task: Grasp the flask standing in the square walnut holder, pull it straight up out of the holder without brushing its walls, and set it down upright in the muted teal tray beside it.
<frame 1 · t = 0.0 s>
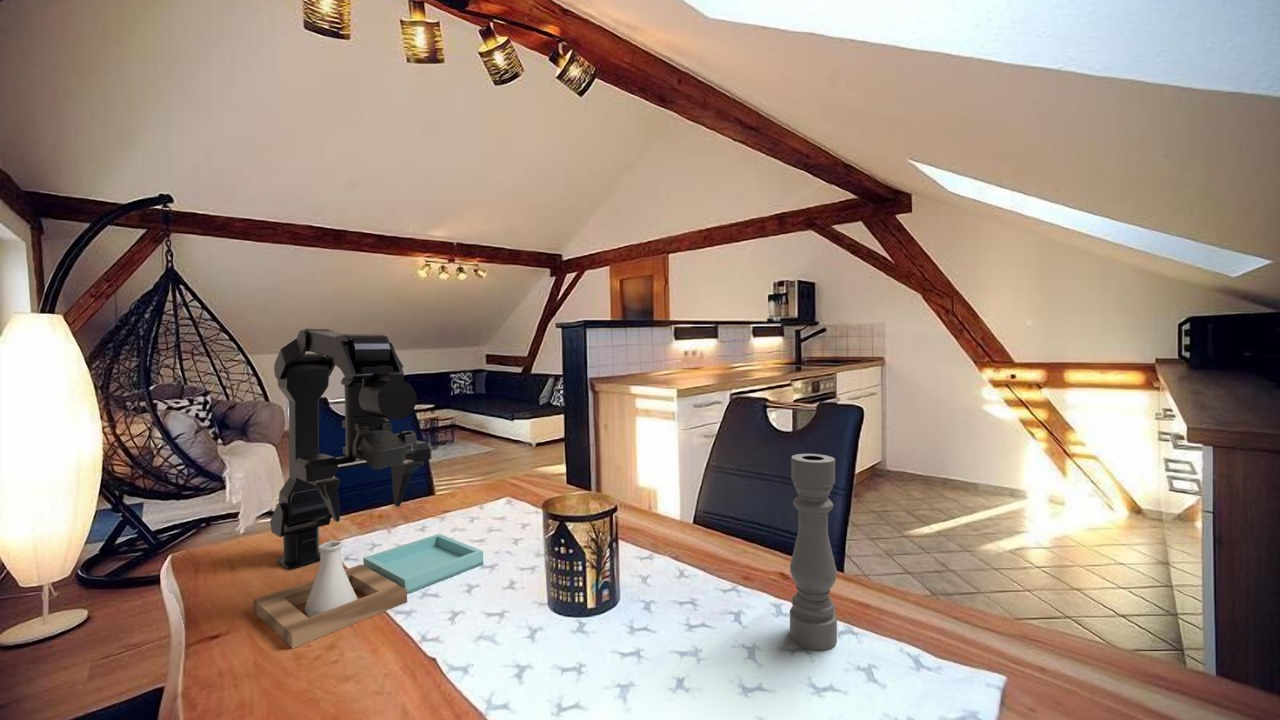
hand: (368, 513, 81), 15 cm above the table, fingers open, 9 cm apart
teal tray: (424, 567, 95), on the table
candle holder: (813, 639, 71), on the table
flask: (331, 608, 81), on the table
walnut holder: (331, 606, 81), on the table
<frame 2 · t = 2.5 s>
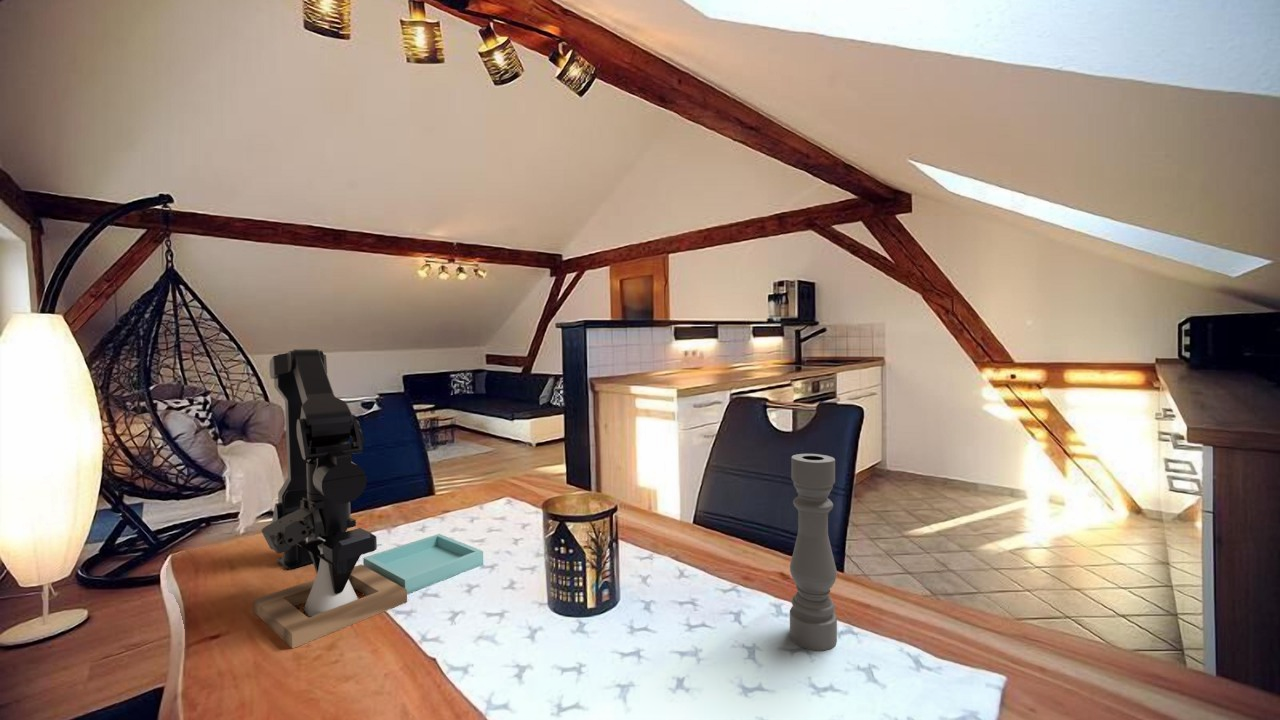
hand: (331, 588, 81), 3 cm above the table, fingers closed on flask, 5 cm apart
flask: (331, 608, 81), on the table, touching gripper
everything else where it was.
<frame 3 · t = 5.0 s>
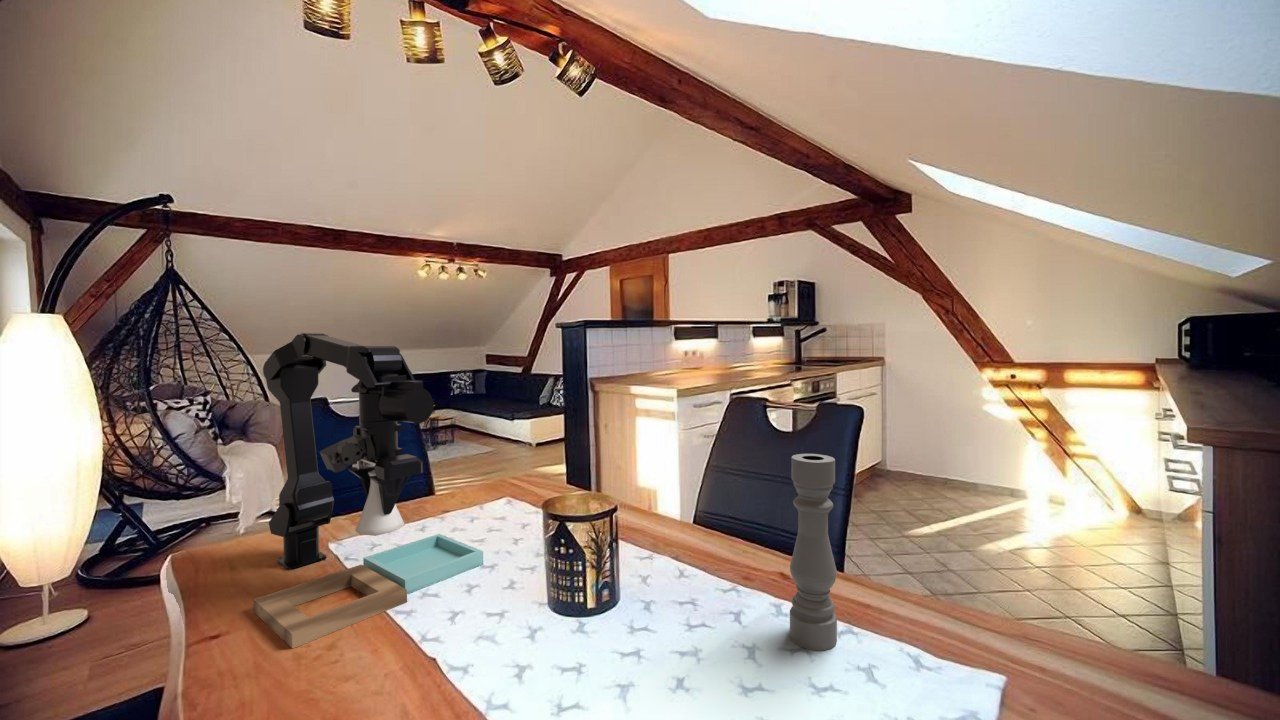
hand: (380, 510, 88), 13 cm above the table, fingers closed on flask, 5 cm apart
flask: (380, 530, 88), point 10 cm above the table, touching gripper
everything else where it was.
when the fingers open (4 cm above the table, at t = 7.9 s): flask stays where it is, resting on teal tray.
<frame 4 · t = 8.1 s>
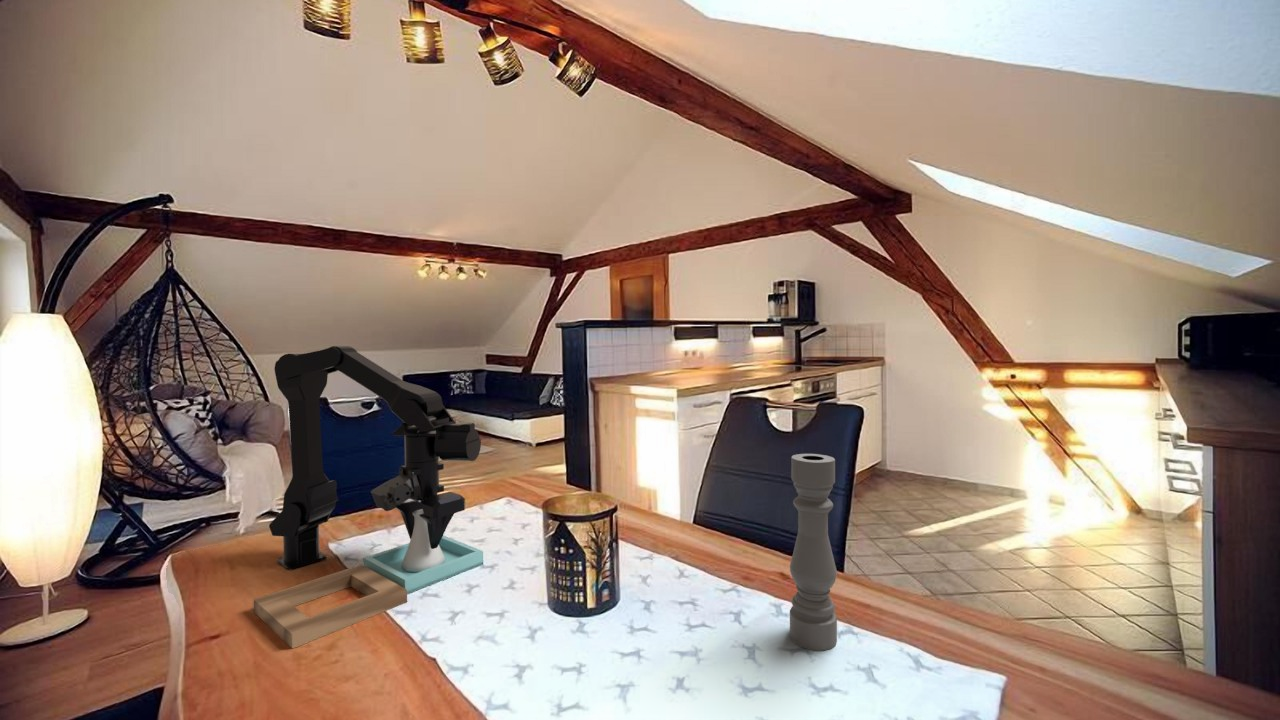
hand: (423, 543, 95), 4 cm above the table, fingers open, 7 cm apart
flask: (423, 566, 95), resting on teal tray
everything else where it was.
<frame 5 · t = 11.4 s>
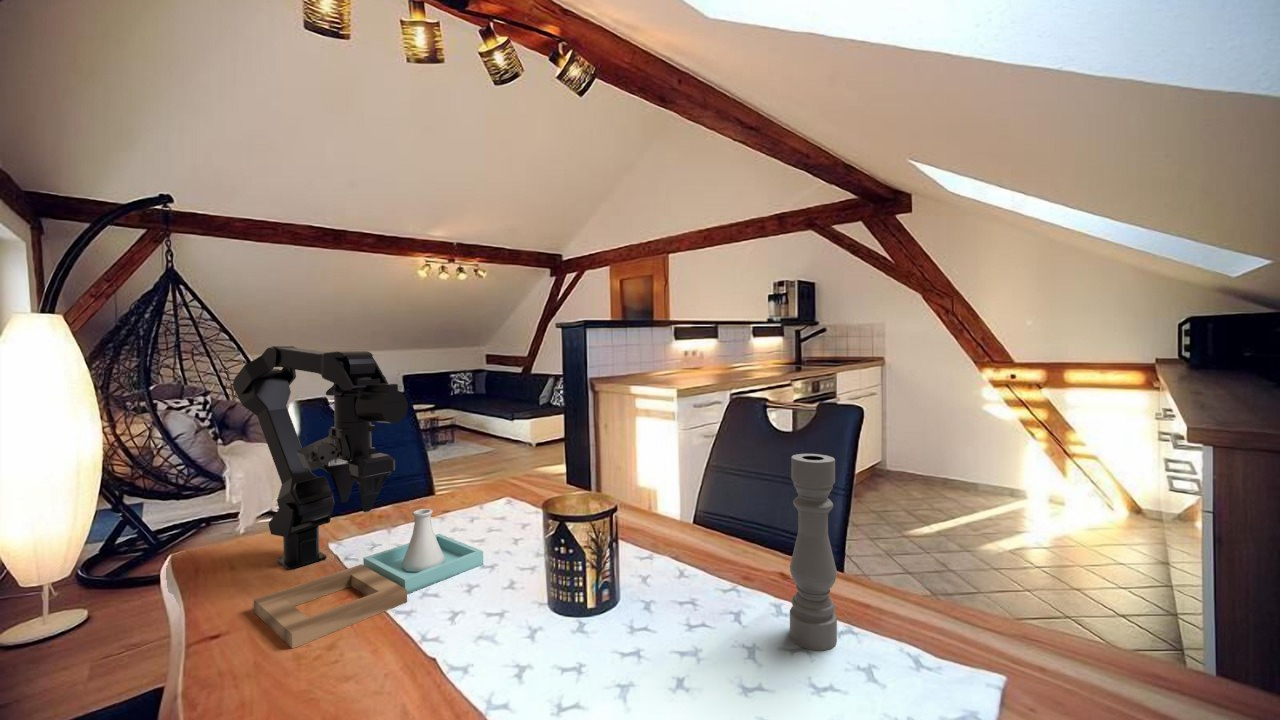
hand: (355, 506, 93), 12 cm above the table, fingers open, 9 cm apart
nothing on the table moved.
at the end: flask inside the target area on the teal tray (0.1 cm from its centre), point 0.3 cm above the teal tray's base; flask tilted 0°; the gripper is holding nothing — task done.
